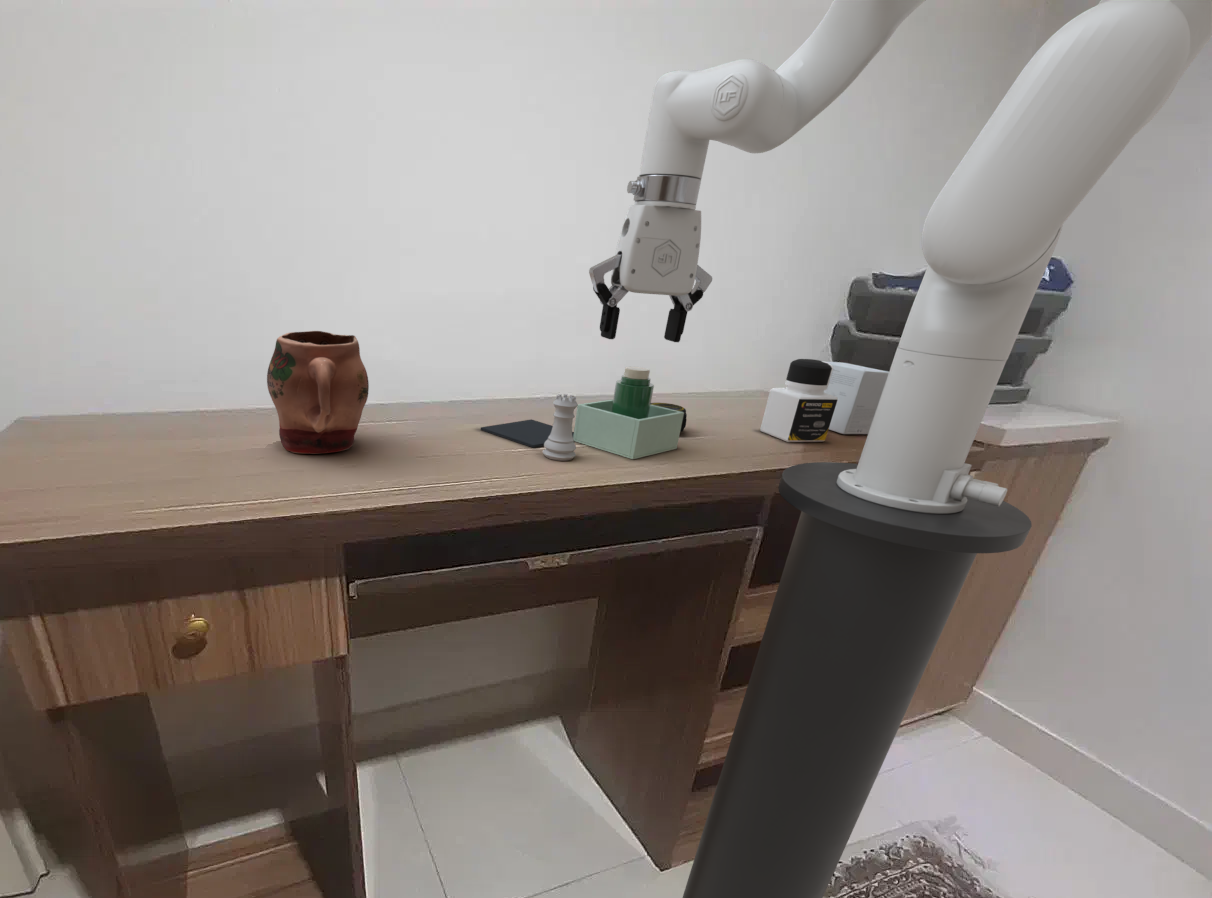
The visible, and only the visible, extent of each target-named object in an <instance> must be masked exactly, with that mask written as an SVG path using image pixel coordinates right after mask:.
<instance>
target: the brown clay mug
mask: <svg viewBox="0 0 1212 898" xmlns="http://www.w3.org/2000/svg"><path fill="white" fill-rule="evenodd" d="M360 351H361V349H360V344H359V340H358V339H357V336H356V335H353V334H336V333H331V332H327V331H322V330H308V331H292V332H286V333H284V334H282V335H280V336H279V337H277V338H276V341H275V345H274V349H273V352H272V356H271V358H270V362H269V364H268V368H267V371H266V372H267V374H266V385H267V390H268V393H269V396H270V398H271V401H272V403H273V405H274V407H275V410H276V412H277V417H278V424H279V428H278V429H279V430H278V434H279V441H280V442H281V445H282V447H283V448H284V449H285V450H286V451H287V452H291V453H294V454H304V455H305V454H308V455H309V454H310V455H320V454H328V453H329V454H330V453H338V452H343V451H345V450H349V449H350V448H351V447H352V446H354V443H355V434H356V433H357V431H358V427H359V424H360V421H361V418H362V414H363V411H364V408H365V405H366V403H367V401H368V397H369V390H370V389H369V388H370V387H369V386H370V385H369V384H370V383H369V377H368V371H367V369H366V367H365V363H363V361H362V358H361V352H360Z"/></svg>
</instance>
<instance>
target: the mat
mask: <svg viewBox="0 0 1212 898" xmlns="http://www.w3.org/2000/svg"><path fill="white" fill-rule="evenodd" d="M552 427H553V424H548V423H545V422H542V421H538V420H534V419H532V418H531V419H525V420H519V421H513V422H507V423H506V422H505V423H500V424H495V425H494V424H493V425H487V426H481V427H480V431H482V432H485V433H489V434H492V435H495V436H498V437H501V438H503V439H506V440H509V441H511V442H515V443H518V444H521V445H524V446H527V447H529V448H533V449H534V448H539V447H540V448H541V447H544V443H545V441H546V440H548V436H550V434H551V431H552ZM573 435H574V431H572V436H573Z"/></svg>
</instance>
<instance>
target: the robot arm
mask: <svg viewBox="0 0 1212 898" xmlns="http://www.w3.org/2000/svg"><path fill="white" fill-rule="evenodd" d="M925 1H926V0H832V2H831V3H830V6H829V8H828V10H827V11H826V13H825V14H824V16H823V18H822V19H821V20H820V22H819V24H818V25H817V26H816V27H815V29H814V30H813V31H812V33H811V34H810V35H809V36H808V37H807V39H806V40H804V42H803V43H802V44H801V45H800V46H799V47H798V48H797V49H796V50H795V51H794V52H793V53H792V54H791V55H790V56H788V58H787V59H786V60H785V61H784V62H782V63H781V64H780V66H778V68H776V69H775V70H774V69H772V68H771V67H769V66H768V65H766V64H765V63H763V62H762V61H760V60H757V59H753V58H742V59H735V60H732V61H728V62H725V63H722V64H718V65H715V66H712V67H708V68H705V69H701V70H699V69H678V70H672V71H669V72H666V73H663V74H662V75H661V76H660V77H659V78H657V80H656V82H655V84H654V87H653V90H652V96H651V101H650V107H649V112H648V118H647V125H646V130H645V137H644V142H643V148H642V149H643V150H642V155H641V162H640V168H639V174H638V176H637V177H636V180H629V181H628V183H627V187H626V193H628V194H631V195H633V201H634V203H633V204H631V205H629V206H628V209H627V212H626V214H625V218H624V220H623V223H622V226H621V230H620V233H619V236H618V242H617V245H616V248H615V253H614V255H613V256H610V257H609V258H607V259H605V260H602V261H601V262H599V263H597V264H594V265H593V266H590V268H589V269H588V274H589V277H590V281H591V284H592V288H593V293H595V295H596V297H597V298H598V299H599V303H600V304H601V305H602V309H601V316H600V323H599V331H600V337H601V338H603V339H607V340H614V339H616V335H617V330H618V324H619V318H620V312H621V308H620V307H618V304H619V303H620V301H621V300H623V298H624V297H625V296H626V295H627V294H628V293H629V292H630V293H634V294H644V295H645V294H646V295H659V296H660V295H662V296H669V299H670V301H671V303H672V305H673V308H670V309H669V311H668V315H667V320H666V324H665V330H664V334H663V335H664V336H663V338H664V340H666V341H670V342H673V343H680V342H681V338H682V336H683V333H684V330H685V326H686V320H687V316H688V312H690V311H692V310H693V307H694V306H695V305H696V304H697V303H698V302H699V301H700V300H702V298H703V297H704V293H705V292H706V290H707V289H708V288H709V286H710V285H711V283H712V281H713V276H712V275H710V273H708V272H707V271H706V270H705V269H704V268H702V267H701V266H700V265H699V264H698V263H699V257H700V247H701V238H702V211H701V210H698V209H696V208H697V202H698V198H699V194H700V189H701V184H702V178H703V174H704V173H703V172H704V168H705V165H706V164H705V163H706V159H707V154H708V150H709V149H708V148H709V144H710V141H714V142H719V143H722V144H725V145H726V146H727V145H728V146H730V147H734V148H736V149H738V150H741V151H742V152H746V153H748V154H763V153H766V152H770V151H772V150H774V149H775V148H777V147H780V146H781V145H782V144H784V143H786V142H787V141H788V140H790V139H791V138H793V137H794V136H795V135H797V134H798V133H799V131H801V130H802V129H803V128H805V127H806V126H807V125H808V124H809V123H811V121H813V120H814V119H815V118H816V117H817V116H819V114H821V113H822V112H823V111H824V110H825V109H827V108H828V107H829V106H830V105H831V104H832V103H833V102H834V101H836V100H837V98H839V97H840V96H841V94H843V93H845V91H846V90H847V89H848V88H849V87H850V86H851V85H852V83H853V82H854V81H855V80H856V79H857V78H858V77H859V76H860V74H861V73H862V72H863V71H864V70H865V69H866V67H867V66H868V65H869V64H870V63H871V61H872V60H873V59H874V58H875V57H876V56H877V54H878V53H880V51H881V50H882V49H883V47H884V46H885V45H887V43H888V41H889V40H890V38H891V37H892V36H893V34H894V33H895V32H896V30H897V29H898V28H899V27H900V25H901V24H902V23H903V22H904V21H905V20H906V19H907V18H908V17H909V16H910V15H911V14H912V13H913V12H914V11H915V10H917V8H919V7H920V6H921V5H922V4H923V3H924V2H925ZM1211 39H1212V0H1100V1H1099V2H1098V3H1097V5H1095V6H1093V7H1090V8H1088V9H1087V10H1085V11H1083V12H1082V13H1080V14H1078V15H1077V16H1075V17H1074V18H1072V19H1071V20H1069V21H1068V22H1067V23H1065V24H1064V25H1062V26H1061V27H1060V28H1058V30H1057V31H1055V32H1054V33H1053V34H1052V35H1051V36H1050V37H1049V38H1048V39H1047V40H1046V41H1045V42H1044V43H1043V44H1042V46H1040V47H1039V48H1038V50H1037V51H1036V52H1035V53H1034V54H1033V55H1032V57H1031V58H1030V60H1029V61H1028V62H1027V63H1026V64H1025V66H1024V67H1023V69H1022V70H1021V71H1020V73H1019V75H1017V77H1016V79H1015V80H1014V81H1013V83H1012V84H1011V85H1010V87H1009V89H1008V90H1007V92H1006V93H1005V95H1004V96H1003V98H1002V99H1001V101H1000V102H999V104H998V105H997V106H996V108H995V109H994V111H993V113H992V114H991V116H990V117H989V118H988V120H987V121H986V123H985V124H984V126H983V128H982V129H981V130H980V132H979V133H978V134H977V136H976V138H975V140H974V141H973V142H972V144H971V145H970V147H969V148H968V150H967V152H966V153H965V154H964V156H963V157H962V159H961V161H960V162H959V163H958V164H957V166H956V167H955V169H954V170H953V172H952V174H951V175H950V177H949V178H948V179H947V181H946V183H944V186H943V187H942V188H941V190H940V191H939V193H938V195H937V196H936V198H935V199H934V201H933V203H932V205H931V206H930V208H929V211H928V212H927V215H926V217H925V219H924V222H923V227H922V231H921V232H922V233H921V250H922V254H923V257H924V260H925V261H926V264H927V266H926V270H925V272H924V275H923V278H922V280H921V282H920V285H919V288H918V290H917V293H916V295H915V298H914V300H913V303H912V306H911V308H910V311H909V314H908V315H907V320H906V322H905V325H904V328H903V330H902V334H901V337H900V340H899V342H898V345H897V347H896V350H895V353H894V356H893V360H892V362H891V365H890V367H889V371H888V372H889V374H888V377H887V380H886V383H885V386H884V389H883V392H882V395H881V398H880V401H879V404H878V406H877V409H876V412H875V415H874V418H873V421H872V424H871V427H870V430H869V433H868V434H867V437H866V438H865V439H866V440H865V442H864V446H863V449H862V450H861V454H860V457H859V460H858V463H857V464H858V466H857V469H849V470H845V471H843V472H841V473H840V474H839V475H838V479H837V484H838V486H839V487H840V488H841V489H842V490H844V491H845V492H847V493H849V494H851V495H853V496H855V497H858V498H861V499H863V500H866V501H869V502H872V503H876V504H879V505H883V506H887V507H891V508H896V509H900V510H906V511H912V512H919V513H928V514H952V513H957V512H960V511H962V510H963V509H964V508H965V505H966V503H967V498H971V499H975V500H978V501H979V502H983V503H986V504H990V505H994V506H998V507H999V506H1000V505H1001V503H1002V501H1005V500H1004V499H1005V498H1006V496H1007V493H1008V488H1007V487H1002V486H999V483H996V482H993V481H988V480H980V479H977V478H974V475H972V474H969V473H970V470H971V468H972V466H973V464H970V463H966V460H967V458H968V455H969V453H970V451H971V448H972V446H973V443H974V441H975V438H976V437H977V434H978V431H979V429H980V427H981V424H982V421H983V419H984V416H985V414H986V412H987V409H988V407H989V405H990V402H991V399H992V397H993V395H994V393H995V390H996V388H997V385H998V382H999V380H1000V378H1001V375H1002V373H1003V370H1004V368H1005V365H1006V363H1007V361H1008V360H1009V358H1010V355H1011V352H1012V350H1013V348H1014V345H1015V343H1016V340H1017V338H1018V335H1019V333H1020V330H1021V328H1022V326H1023V324H1024V321H1025V318H1026V316H1027V314H1028V311H1029V308H1030V307H1031V304H1032V301H1033V299H1034V297H1035V295H1036V293H1037V290H1038V288H1039V286H1040V283H1041V281H1042V279H1043V276H1044V274H1045V273H1046V270H1047V267H1048V265H1049V264H1050V261H1051V258H1052V256H1053V254H1054V252H1055V249H1056V247H1057V244H1058V241H1059V239H1060V236H1061V233H1062V230H1063V225H1064V224H1065V223H1066V221H1067V220H1068V218H1069V217H1070V216H1071V215H1072V214H1073V213H1074V212H1075V210H1076V209H1077V208H1078V206H1080V204H1081V202H1082V201H1083V200H1084V199H1085V198H1086V196H1087V195H1088V194H1089V193H1090V192H1091V190H1092V189H1093V188H1094V186H1095V185H1096V184H1097V183H1098V182H1099V180H1100V179H1101V178H1102V177H1103V175H1104V174H1105V173H1106V172H1107V170H1108V169H1109V168H1110V167H1111V165H1112V164H1113V163H1114V161H1116V159H1117V158H1118V157H1119V156H1120V154H1121V153H1122V152H1123V151H1124V149H1125V147H1127V145H1128V144H1129V143H1130V142H1131V141H1132V139H1133V138H1134V137H1135V135H1137V134H1138V133H1139V132H1140V131H1141V130H1142V129H1144V127H1146V126H1147V125H1148V124H1149V123H1150V122H1152V120H1153V119H1154V118H1155V117H1156V116H1157V114H1158V113H1159V112H1160V111H1161V109H1162V108H1163V107H1164V105H1165V104H1166V102H1167V101H1168V99H1169V98H1170V97H1171V95H1172V93H1173V92H1174V90H1175V88H1176V86H1177V84H1178V82H1179V81H1180V80H1181V78H1182V77H1183V75H1184V74H1185V73H1186V72H1187V70H1188V69H1189V67H1190V66H1191V65H1192V63H1193V62H1194V61H1195V59H1196V58H1197V57H1198V55H1199V54H1200V53H1201V52H1202V51H1203V49H1204V48H1205V47H1206V46H1207V44H1208V43H1209V42H1210V40H1211ZM609 272H611V274H610V283H611V286H610V287H608V286H607V285H606V282H605V275H606V274H607V273H609ZM966 497H967V498H966Z"/></svg>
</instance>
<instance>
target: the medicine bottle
mask: <svg viewBox="0 0 1212 898" xmlns="http://www.w3.org/2000/svg"><path fill="white" fill-rule="evenodd" d="M828 362H829V361H826V362H825V361H824V360H819V359H812V358H798V359H794V360H792V361H791V362H790V364H789V368H788V371H787V375H786V378H785V383H784V385H785V387H772V388H770V389H769V394H768V398H767V401H766V405H765V408H764V414H763V416H762V420H761V423H760V424H761V425H760V428H759V431H760V432H761V433H764V434H765V435H766V434H767V435H768V436H772V437H774V438H777V439H779V440H781V441H784V442H786V443H823V442H825V441H826V439H827V435H828V433H829V426H830V423H831V420H832V416H833V413H834V410H835V407H836V404H837V400H838V398H837V397H836V396H833V395H829V394H826V393H824V390H827V387H828V384H829V381H830V377H831V374H832V371H833V366H832V365H831V364H829V363H828Z"/></svg>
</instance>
